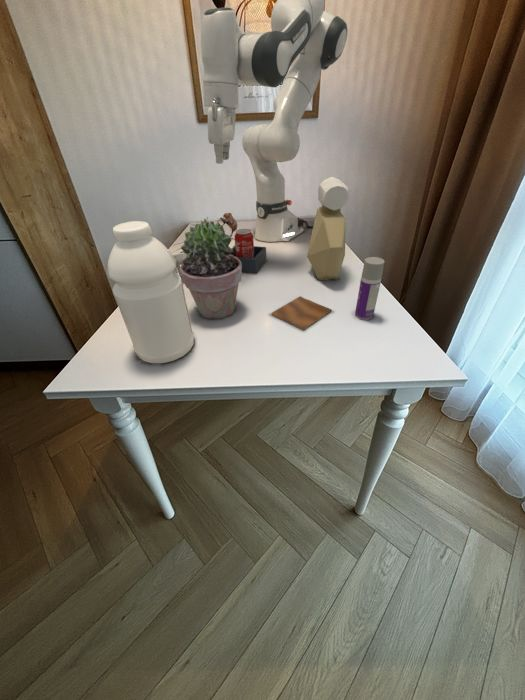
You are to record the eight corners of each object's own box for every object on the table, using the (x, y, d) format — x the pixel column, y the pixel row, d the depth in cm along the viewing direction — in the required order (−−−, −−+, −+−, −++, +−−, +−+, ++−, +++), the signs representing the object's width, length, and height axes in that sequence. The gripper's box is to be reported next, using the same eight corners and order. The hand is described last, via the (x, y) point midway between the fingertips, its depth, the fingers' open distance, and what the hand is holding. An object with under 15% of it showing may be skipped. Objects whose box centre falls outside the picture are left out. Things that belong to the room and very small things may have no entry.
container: (351, 312, 83) (360, 258, 74) (366, 309, 84) (376, 255, 75) (361, 321, 79) (372, 265, 70) (377, 317, 81) (389, 262, 71)
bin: (236, 257, 116) (235, 244, 113) (266, 260, 113) (266, 247, 110) (224, 270, 107) (222, 256, 104) (256, 273, 104) (255, 259, 101)
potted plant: (167, 311, 87) (143, 218, 72) (224, 288, 97) (214, 202, 81) (200, 338, 76) (180, 236, 61) (261, 310, 86) (257, 215, 70)
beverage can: (243, 260, 114) (240, 227, 106) (258, 263, 111) (256, 229, 103) (233, 267, 109) (230, 232, 102) (248, 270, 107) (246, 235, 99)
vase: (335, 257, 112) (345, 169, 95) (351, 288, 94) (367, 185, 76) (302, 259, 113) (306, 171, 95) (311, 290, 94) (318, 187, 76)
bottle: (199, 328, 80) (176, 213, 62) (189, 363, 69) (158, 236, 51) (145, 330, 80) (107, 216, 63) (126, 365, 69) (75, 239, 52)
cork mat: (299, 298, 90) (299, 296, 90) (331, 311, 84) (331, 309, 83) (271, 314, 84) (271, 312, 83) (303, 330, 77) (303, 328, 77)
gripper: (226, 97, 71) (227, 166, 80) (238, 101, 88) (238, 158, 96) (199, 96, 71) (203, 165, 80) (216, 100, 88) (218, 157, 96)
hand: (222, 161), depth 88 cm, fingers open, 8 cm apart
